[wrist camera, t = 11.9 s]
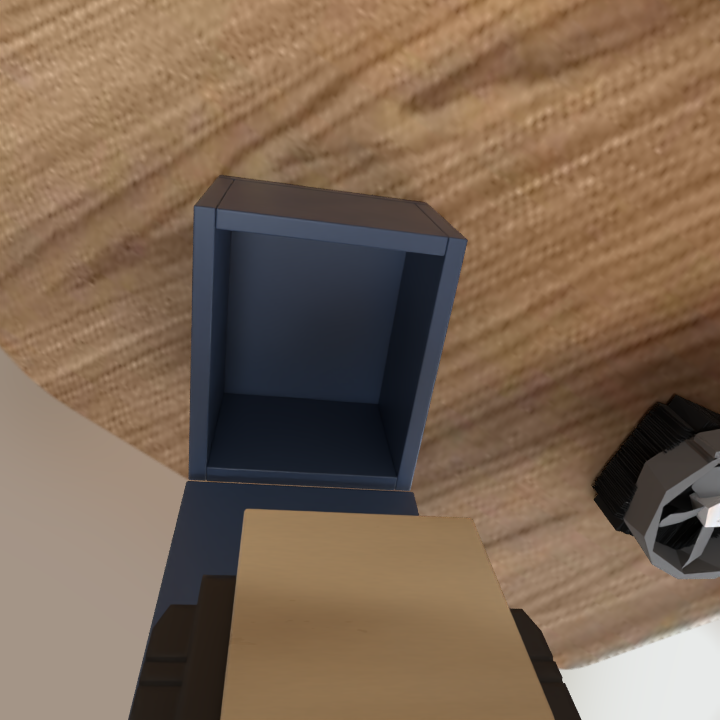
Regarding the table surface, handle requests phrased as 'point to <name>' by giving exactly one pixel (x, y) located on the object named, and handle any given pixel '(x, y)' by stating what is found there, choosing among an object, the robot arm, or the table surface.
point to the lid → (224, 528)
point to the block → (372, 623)
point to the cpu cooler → (669, 489)
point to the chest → (315, 333)
